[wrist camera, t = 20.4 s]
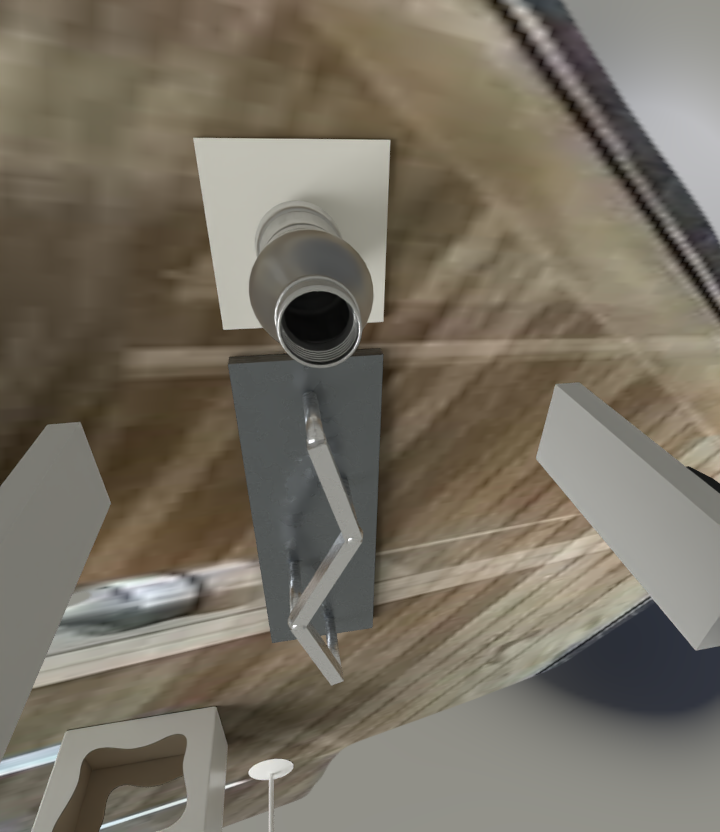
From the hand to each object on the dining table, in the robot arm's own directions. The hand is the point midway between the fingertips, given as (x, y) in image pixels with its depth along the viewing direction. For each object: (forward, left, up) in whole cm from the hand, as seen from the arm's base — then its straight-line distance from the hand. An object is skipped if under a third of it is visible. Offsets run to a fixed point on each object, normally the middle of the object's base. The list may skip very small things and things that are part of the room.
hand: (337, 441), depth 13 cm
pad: (+1, 0, -29) cm, 29 cm away
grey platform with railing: (+1, -31, -29) cm, 42 cm away
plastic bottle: (0, 0, -28) cm, 28 cm away
